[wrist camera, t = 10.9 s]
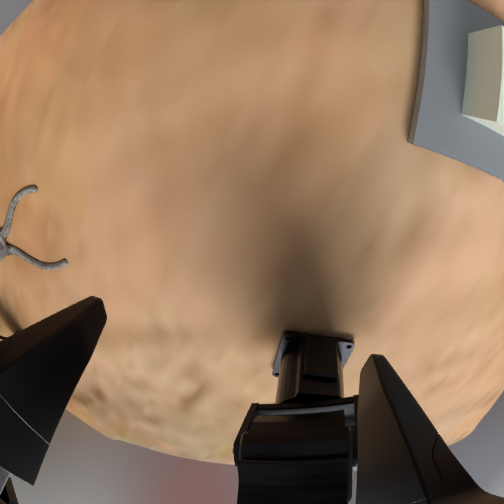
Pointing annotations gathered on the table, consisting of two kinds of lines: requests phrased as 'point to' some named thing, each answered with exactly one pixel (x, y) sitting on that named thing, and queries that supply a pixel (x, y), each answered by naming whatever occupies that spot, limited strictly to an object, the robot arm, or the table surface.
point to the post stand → (452, 88)
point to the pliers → (3, 248)
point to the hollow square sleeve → (485, 78)
